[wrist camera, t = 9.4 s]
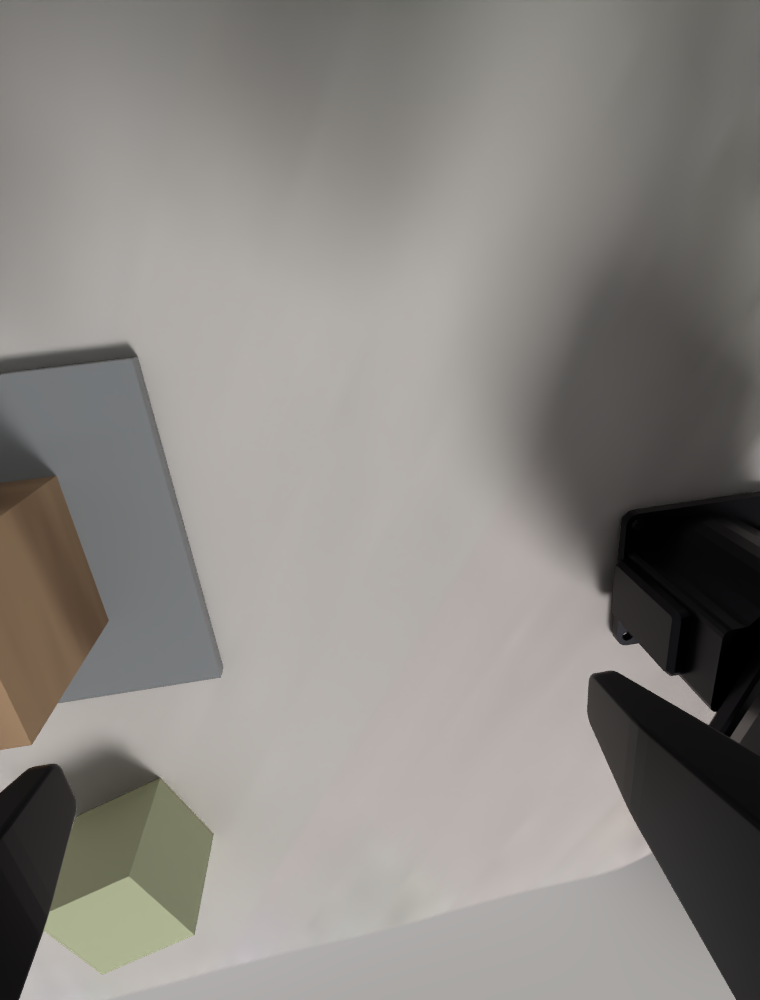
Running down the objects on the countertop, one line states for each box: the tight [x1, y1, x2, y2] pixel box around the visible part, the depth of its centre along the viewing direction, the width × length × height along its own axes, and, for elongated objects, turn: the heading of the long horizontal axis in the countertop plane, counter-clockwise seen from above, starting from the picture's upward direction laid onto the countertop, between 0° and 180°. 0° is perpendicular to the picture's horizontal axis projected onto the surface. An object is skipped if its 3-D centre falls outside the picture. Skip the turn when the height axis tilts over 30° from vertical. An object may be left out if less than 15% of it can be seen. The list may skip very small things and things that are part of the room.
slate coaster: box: [0, 357, 223, 703], centre depth 19 cm, size 13×13×1 cm
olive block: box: [44, 778, 214, 975], centre depth 24 cm, size 4×4×4 cm
